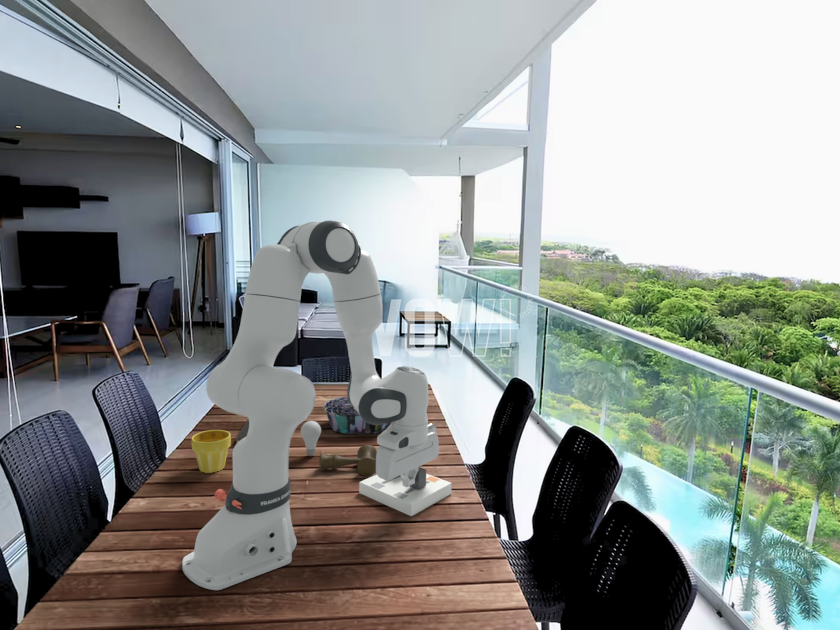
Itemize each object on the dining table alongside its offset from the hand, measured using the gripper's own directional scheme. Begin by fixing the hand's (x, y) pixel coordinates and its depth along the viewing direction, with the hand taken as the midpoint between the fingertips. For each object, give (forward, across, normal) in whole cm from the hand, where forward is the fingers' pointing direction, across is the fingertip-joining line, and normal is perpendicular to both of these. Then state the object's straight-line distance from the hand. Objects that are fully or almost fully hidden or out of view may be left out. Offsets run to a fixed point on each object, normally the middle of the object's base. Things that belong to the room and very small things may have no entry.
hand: (408, 485), depth 129 cm
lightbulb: (+5, -2, -42) cm, 42 cm away
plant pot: (+5, +23, -55) cm, 60 cm away
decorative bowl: (+5, -33, -52) cm, 61 cm away
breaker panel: (+5, -3, -4) cm, 7 cm away
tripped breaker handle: (+2, -4, 0) cm, 4 cm away
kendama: (+5, -5, -25) cm, 26 cm away
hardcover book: (+6, -5, -70) cm, 71 cm away
